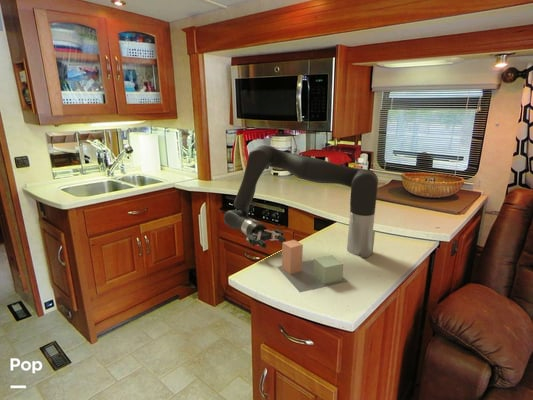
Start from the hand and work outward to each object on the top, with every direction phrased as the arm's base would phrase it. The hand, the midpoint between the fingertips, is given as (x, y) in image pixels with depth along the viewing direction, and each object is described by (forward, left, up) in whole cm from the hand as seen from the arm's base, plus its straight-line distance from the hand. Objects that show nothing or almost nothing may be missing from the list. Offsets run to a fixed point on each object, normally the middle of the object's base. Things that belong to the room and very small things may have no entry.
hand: (275, 243), depth 127 cm
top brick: (-2, +11, -6) cm, 12 cm away
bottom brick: (-11, +20, -6) cm, 23 cm away
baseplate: (-7, +16, -7) cm, 18 cm away
